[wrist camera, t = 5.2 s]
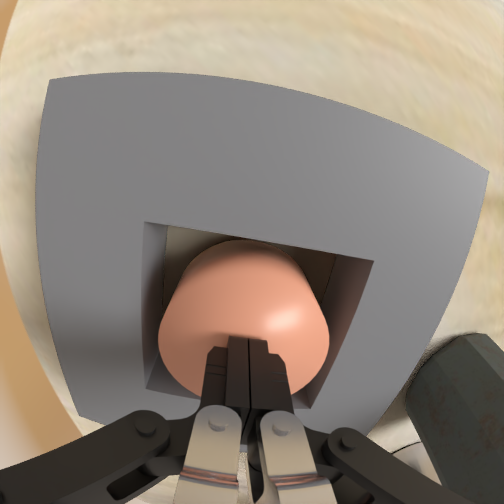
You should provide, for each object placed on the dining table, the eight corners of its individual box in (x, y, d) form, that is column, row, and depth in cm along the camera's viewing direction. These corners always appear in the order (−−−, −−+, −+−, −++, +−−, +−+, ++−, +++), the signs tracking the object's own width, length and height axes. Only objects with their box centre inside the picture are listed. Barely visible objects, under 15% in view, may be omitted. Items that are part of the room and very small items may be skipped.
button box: (443, 163, 13) (489, 171, 9) (342, 412, 20) (354, 449, 16) (92, 91, 11) (49, 79, 7) (97, 379, 18) (79, 415, 14)
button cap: (325, 252, 14) (352, 289, 10) (291, 359, 16) (301, 409, 12) (183, 228, 13) (160, 259, 9) (174, 344, 15) (159, 393, 12)
